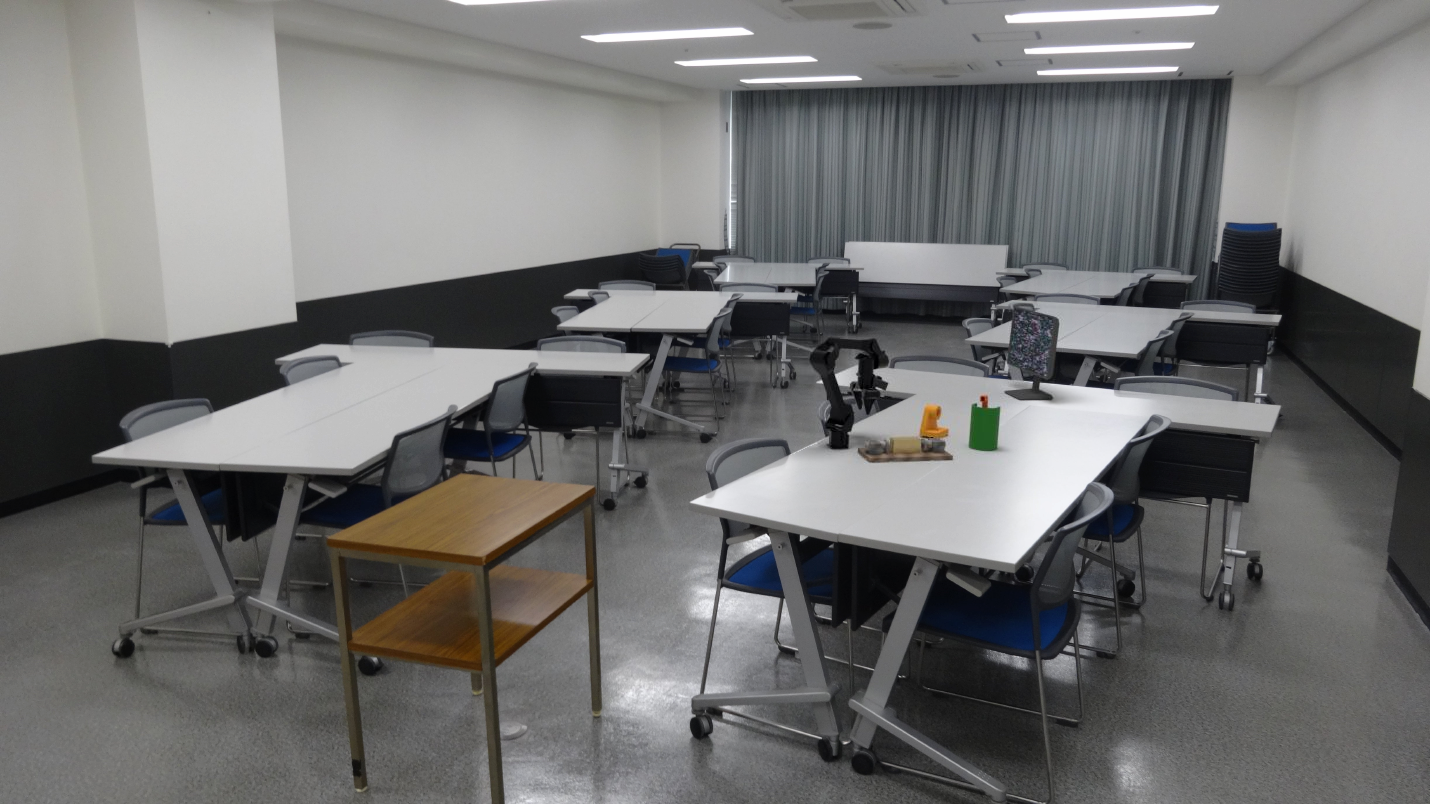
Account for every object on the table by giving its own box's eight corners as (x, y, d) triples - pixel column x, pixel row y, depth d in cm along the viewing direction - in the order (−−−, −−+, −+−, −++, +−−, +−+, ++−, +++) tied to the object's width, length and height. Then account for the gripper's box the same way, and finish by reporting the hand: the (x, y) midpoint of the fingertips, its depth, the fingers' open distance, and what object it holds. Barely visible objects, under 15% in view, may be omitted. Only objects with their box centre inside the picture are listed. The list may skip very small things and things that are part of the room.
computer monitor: (992, 387, 464) (998, 305, 456) (1024, 387, 466) (1031, 305, 458) (1031, 406, 422) (1039, 316, 413) (1066, 406, 423) (1074, 316, 415)
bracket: (936, 440, 359) (938, 409, 356) (919, 437, 363) (921, 406, 361) (949, 435, 367) (951, 404, 365) (931, 432, 372) (933, 402, 369)
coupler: (916, 449, 338) (917, 436, 337) (920, 452, 334) (921, 439, 333) (889, 450, 337) (890, 437, 336) (893, 453, 333) (894, 439, 332)
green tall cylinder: (998, 446, 351) (1002, 393, 346) (994, 452, 343) (999, 397, 339) (970, 443, 355) (974, 390, 351) (966, 448, 347) (970, 395, 343)
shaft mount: (870, 462, 327) (870, 445, 325) (857, 452, 340) (858, 435, 339) (952, 459, 331) (953, 442, 330) (937, 449, 345) (938, 433, 344)
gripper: (895, 375, 343) (893, 417, 347) (878, 366, 361) (876, 406, 365) (865, 375, 342) (863, 417, 345) (850, 366, 360) (848, 407, 363)
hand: (863, 412), depth 354 cm, fingers open, 9 cm apart
